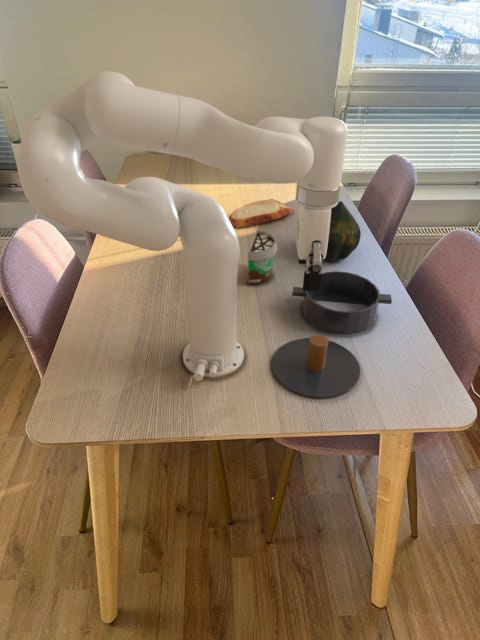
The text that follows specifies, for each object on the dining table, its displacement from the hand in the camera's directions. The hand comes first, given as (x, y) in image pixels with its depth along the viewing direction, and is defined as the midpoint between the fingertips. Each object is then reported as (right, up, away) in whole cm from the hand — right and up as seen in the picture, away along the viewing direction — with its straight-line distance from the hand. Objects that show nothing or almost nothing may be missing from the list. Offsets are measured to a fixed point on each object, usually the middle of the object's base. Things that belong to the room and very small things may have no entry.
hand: (308, 276), depth 100 cm
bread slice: (-7, +23, +59) cm, 64 cm away
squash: (+11, +10, +42) cm, 45 cm away
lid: (+2, -18, +4) cm, 19 cm away
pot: (+10, -7, +19) cm, 23 cm away
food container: (-7, +3, +32) cm, 33 cm away
